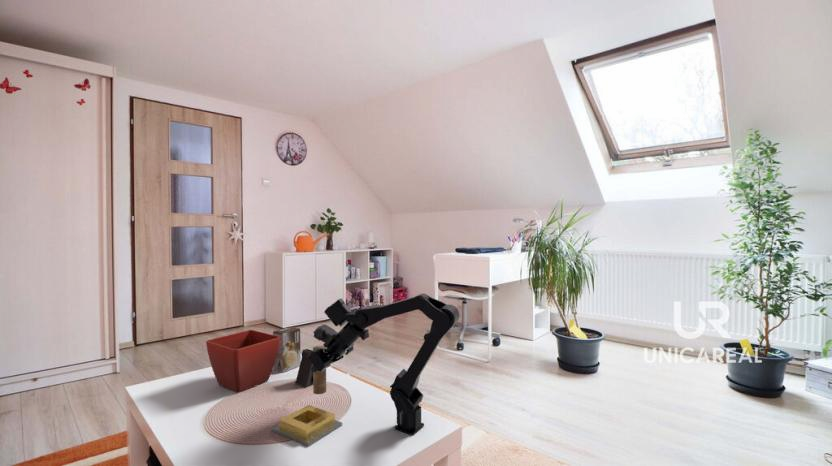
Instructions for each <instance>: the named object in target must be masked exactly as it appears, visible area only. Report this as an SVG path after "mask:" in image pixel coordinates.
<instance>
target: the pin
mask: <svg viewBox="0 0 832 466" xmlns="http://www.w3.org/2000/svg"><path fill="white" fill-rule="evenodd" d="M317 348H321V349H322V350H325V349H327V348H325V347H324V345H316V346H314V347H312V350H315V349H317ZM312 386H313V387H312V388H313V389H312V390H313V394H314V395H323V394H325V393H327V368H326V369H324V370H323V371H321V372H319V371H316V372H313V385H312Z"/></svg>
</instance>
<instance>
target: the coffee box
mask: <svg viewBox="0 0 832 466" xmlns="http://www.w3.org/2000/svg"><path fill="white" fill-rule="evenodd" d="M272 335H275V336H279V337H280V343H279V348H278V353H277V356H276V360H275V363H274V366H273V371H277V372H281V373H286V372H288V371H291V370H294V369H296V368H299V367H300V363H301V359H302V351H301V328H300V327H294V326H288V327H285V328H281V329H277V330H276V329H275V330H273V331H272Z"/></svg>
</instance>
